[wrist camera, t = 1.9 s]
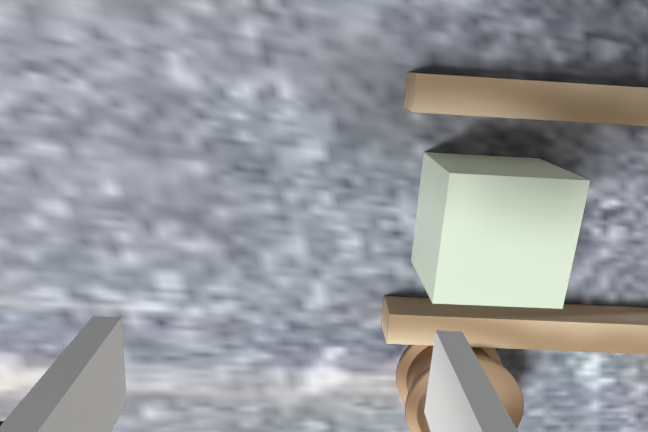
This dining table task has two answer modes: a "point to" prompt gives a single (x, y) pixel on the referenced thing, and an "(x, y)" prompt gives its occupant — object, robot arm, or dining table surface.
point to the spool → (416, 377)
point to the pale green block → (496, 230)
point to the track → (522, 322)
